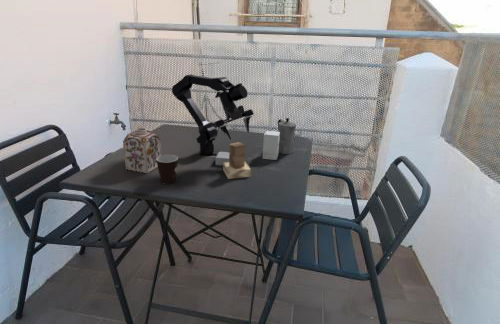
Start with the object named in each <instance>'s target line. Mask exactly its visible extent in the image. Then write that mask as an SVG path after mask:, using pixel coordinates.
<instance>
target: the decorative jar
mask: <svg viewBox="0 0 500 324" xmlns="http://www.w3.org/2000/svg"><path fill="white" fill-rule="evenodd" d="M122 145H123V146H122V147H123V156H124V164H125V169H126V170H127V169H128V170H127V171H131V170H132V171H133V172H136V171H137V173H142V172H143V173H142V174H149V173H151V172H152V171H154V170H156V169H157V168H158V165H157V161H156V158H157V157H159V156H162V155H163V154H162V145H161V137H160V136H159V135H158V134H157V133H156V132H154V131H153V130H147V128H145V127H139V128H135V129H134V130H133V131H131V132H128V133H127V134H126V136H125V138H124V139H123V141H122ZM150 171H151V172H150Z"/></svg>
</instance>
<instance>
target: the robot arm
mask: <svg viewBox="0 0 500 324" xmlns="http://www.w3.org/2000/svg"><path fill="white" fill-rule="evenodd" d="M193 85H197V86H202V87H208V88H210V89H211V90H213V91H216V93H215V94H216V95H214V97H215V99H217V98H219V100H220V103H221V106H222V109H223V111H224V112H223V113H224V114H225V118H226V119H225V118H224V119H223V118H222V119H219V120H217V121H211V122H209V121H208V120H207V119H206V117H205V116H204V115H203V113H202V111H201V110H200V109H199V107H198V105H197V104H196V103H195V100H194V99H193V97H192V91H191V89H192V88H193ZM171 92H172V95H173V96H174V97H175V98H176V99H177V100H178V101H180V102H181V103H182V104H183V105H184V106H185V108H186V110H187V111H188V113H189V115H191V117H192V119H193V120H194V122H195V123H196V125H197V127H198V133H199V136H198V137H196V142H197V144H199V155H200V156H213V155H214V153H215V145H214V142H213V141H216V138H217V137H218V134H219V132H218V130H221V131H222V132H223V134H224V135H226V137H227V138H228V139H229V140H232V138H231V135H230V133H229V131H228V129H227V128H228V127H227V125H226V124H228V123H231V122H233V121H236V120H239V119H242V118H243V119H242V120H243V124H244V126H245V130H246V132H247V133H248V134H249V133H250V120H251V118H252V116H253V115H254V111H253V109H247V110H245V108H244V106H243V105H239V106H237V105H236V103H235V102H238V101H240V100H244V99H246V98H247V97H248V90H247V89H246V87H245V86H244V85H243V84H242V82H241V83H237V84H233V83H232V82H230V81H229V78H228V77H226V76H223V77H222V76H220V77H208V76H201V75H194V74H186V75H185V76H183V78H181V79H180V80H179V81H178V82H177V83H175V84H174V85H172V88H171ZM217 129H218V130H217Z"/></svg>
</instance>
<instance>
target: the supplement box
mask: <svg viewBox="0 0 500 324" xmlns="http://www.w3.org/2000/svg"><path fill="white" fill-rule="evenodd" d="M279 139H280V132H279V131H275V130H272V131H271V130H265V131H264V134H263V141H262V142H263V143H262V159H263V160H264V159H265V160H271V161H273V160H274V161H277V160H278V157H279Z"/></svg>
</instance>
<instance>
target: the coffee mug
mask: <svg viewBox="0 0 500 324" xmlns="http://www.w3.org/2000/svg"><path fill="white" fill-rule="evenodd" d="M156 161H157V165H158V167H157V168H158V174H159V181H160V183H161V182H162V183H161V184H163V183H165V184H164V185H172V184H175V183H176V182H177V180H178V177H177V176H178V165H179V164H178V163H179V157H178V156H177V155H175V154H162V156H159V157H157V158H156ZM174 182H175V183H174ZM171 183H172V184H171Z"/></svg>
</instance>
